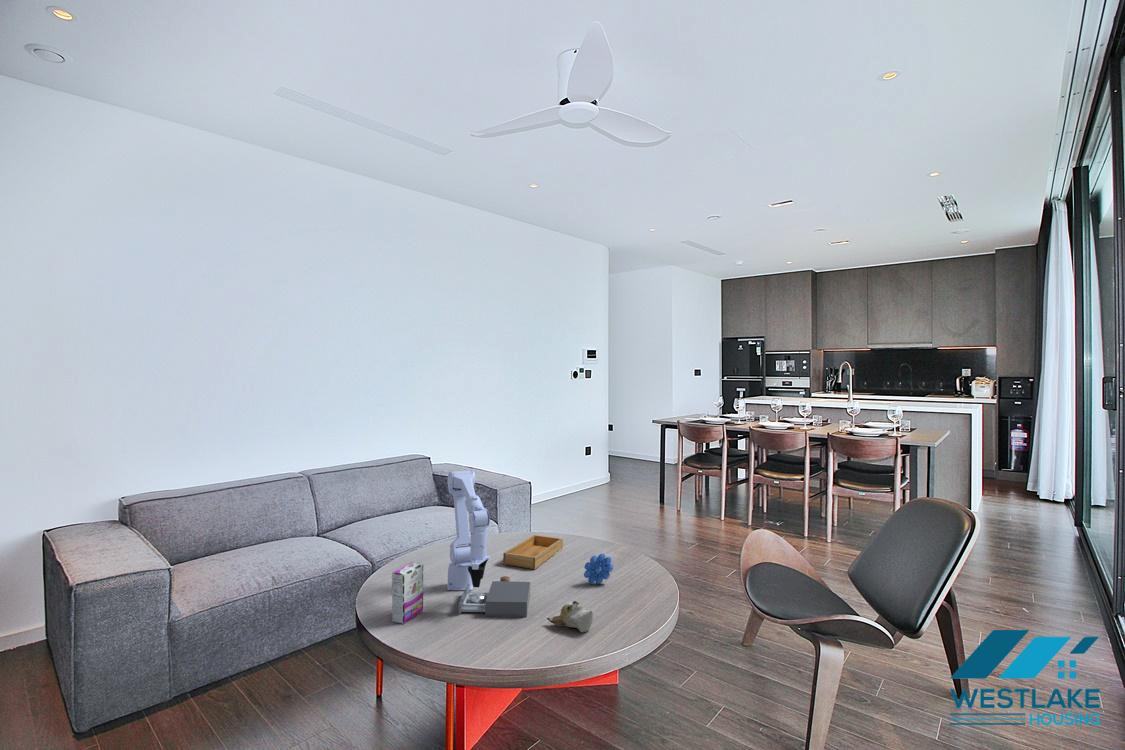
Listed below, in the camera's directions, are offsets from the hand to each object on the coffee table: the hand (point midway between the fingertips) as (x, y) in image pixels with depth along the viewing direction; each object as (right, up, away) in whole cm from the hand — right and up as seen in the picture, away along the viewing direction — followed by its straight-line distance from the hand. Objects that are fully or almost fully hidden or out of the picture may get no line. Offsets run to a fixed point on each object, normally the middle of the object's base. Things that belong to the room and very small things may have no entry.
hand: (478, 582), depth 193 cm
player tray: (+1, -7, 0) cm, 7 cm away
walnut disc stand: (+8, -8, +15) cm, 19 cm away
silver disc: (0, -6, 0) cm, 6 cm away
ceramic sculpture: (+33, -9, -15) cm, 38 cm away
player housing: (+11, -8, 0) cm, 13 cm away
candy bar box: (-22, -8, -10) cm, 26 cm away
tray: (+17, -9, +52) cm, 55 cm away
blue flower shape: (+44, -9, +22) cm, 50 cm away
